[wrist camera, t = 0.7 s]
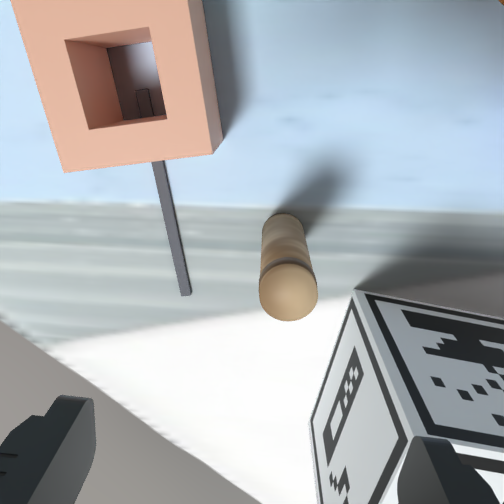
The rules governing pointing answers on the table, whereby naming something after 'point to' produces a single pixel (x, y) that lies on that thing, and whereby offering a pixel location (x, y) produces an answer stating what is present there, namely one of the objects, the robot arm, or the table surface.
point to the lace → (166, 203)
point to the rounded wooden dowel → (286, 270)
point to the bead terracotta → (103, 86)
